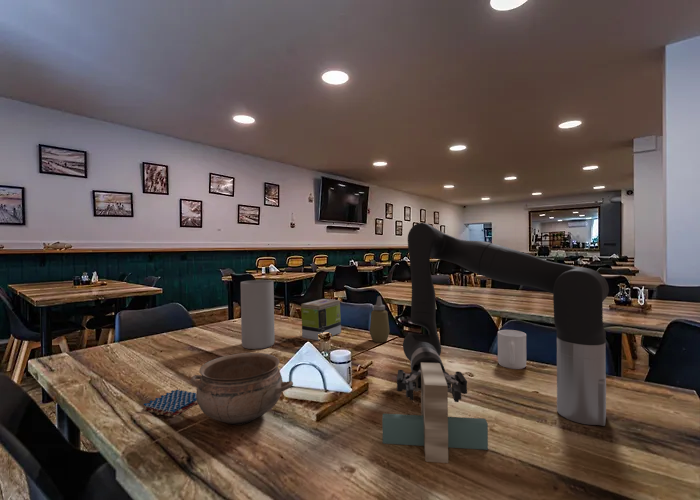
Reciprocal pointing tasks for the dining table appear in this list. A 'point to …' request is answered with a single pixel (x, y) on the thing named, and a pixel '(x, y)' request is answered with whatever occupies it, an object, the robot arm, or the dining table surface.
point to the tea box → (320, 318)
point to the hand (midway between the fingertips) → (434, 396)
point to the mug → (512, 349)
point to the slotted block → (434, 412)
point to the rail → (412, 431)
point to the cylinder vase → (257, 314)
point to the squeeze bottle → (379, 322)
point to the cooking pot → (239, 387)
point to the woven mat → (172, 403)
